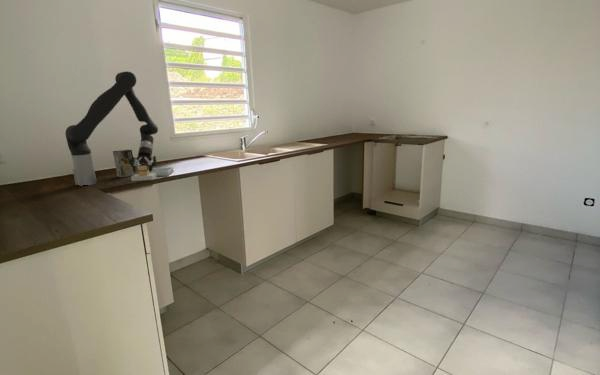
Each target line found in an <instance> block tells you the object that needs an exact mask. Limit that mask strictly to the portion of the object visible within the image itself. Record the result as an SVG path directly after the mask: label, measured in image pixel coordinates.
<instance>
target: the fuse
mask: <svg viewBox="0 0 600 375" xmlns="http://www.w3.org/2000/svg"><path fill="white" fill-rule="evenodd" d="M148 171H149V167H148V165H140V166H137V172H138V173H137V174H139V176H142V175H148Z"/></svg>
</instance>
